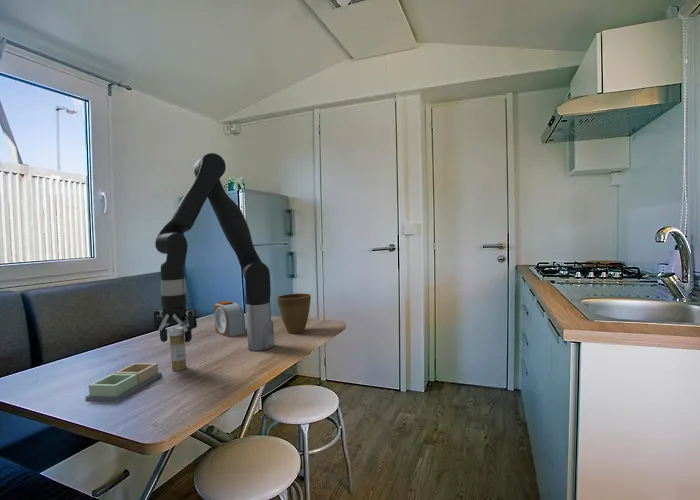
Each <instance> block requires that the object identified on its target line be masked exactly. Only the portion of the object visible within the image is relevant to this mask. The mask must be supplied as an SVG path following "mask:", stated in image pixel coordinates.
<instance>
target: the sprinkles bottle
mask: <svg viewBox="0 0 700 500" xmlns="http://www.w3.org/2000/svg"><path fill="white" fill-rule="evenodd" d="M184 331H185V330H184V329H183V327H182V326H180V327H174V328H171V329H169V330H168V336H169V342H170V344H169V345H170V360H171V370H172V371H182V370H184V369H186V368H187V359H186V357H187V356H186V346H185V345H186V344H185V343H186V342H185V336H184Z"/></svg>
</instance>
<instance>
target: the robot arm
mask: <svg viewBox="0 0 700 500" xmlns="http://www.w3.org/2000/svg"><path fill="white" fill-rule="evenodd" d="M226 167H227V165H226V162H225V159H224V158H223V156H221V155H220V154H218V153H216V152H215V153H214V152H210V153H206V154H204V155H202V157H200V158H199V159H198V160H197V161H196V162H195V163H194V165H193V173H194V176H195V179H194V182H193V183H192V185H191V186H190V188H189V189H188V191H186V193H185V195H184V196H183V197H182V199H181V200H180V202H179V203H178V204H177V207H176V208H175V210H174V212H173V215H172V216H171V218H170V220H169V221H168V222H166V223H165V225H164V226H163V228H162V229H161V230H160V231H159V232H158V234H157V236H156V238H155V243H154V244H155V245H154V247H155V249H156V251H157V252H159V253H160V254H163V255H166V260H165V261H164V262H163V263H161V265H160V299H161V301H160V303H161V305H160V306H161V308H162V309H158V310H155V311H153V329H155V330H158V331H159V339H160V341H161V343H165V342H167V341H168V340H169V339H168V329H167V328H168V326H169V325H172V324H175V325H179V326H180V327H182V328H183V329H184V343H189V342H191V340H192V338H193V337H192V335H193V334H192V330H193V329H196V328H198V323H197V321H198V320H197V313H196V310H195V309H191V310H187V302H188V301H187V286H186V279H185V264H186V258H187V253H188V241H187V238H186V236H185V235H184V234H185V233H186V232H188V231H190V230H192V228H193V226H194V224H195V222H196V221H197V218H198V216H199V214H200V212H201V211H202V209H203V206H204V204H205V202H206V200H207V199H208V201H209V204H210V206H211V208H212V210H213V212H214V214H215V217H216V219H217V221H218V223H219V226H220V228H221V231H222V232H223V234H224V236H225V238H226V240H227V241H228V242H227V243H228V244H229V245H230V247H231V249H232V250H233V252H234V253H235V255H236V258H237V259H238V260H237V261H238V264H239V265H240V269H241V272H242V275H243V279H244V282H245V284H244V285H245V287H244V289H245V297H244V298H245V299H244V301H245V315H246V317H245V322H246V335H247V349H248V350H249V351H253V352H254V351H264V350H270V349H272V348H273V347H274V346H275V329H274V321H273V320H272V312H271V293H272V292H271V272H270V269H269V266H267V264H265V263H264V262H263V261H262V260H261V258H260V256H259V254H258V253H257V250H256V249H255V246H254V244H253V240H252V235H251V234H252V233H251V232H250V228H249V225H248V222H247V219H246V217H245V216H244V214H243V211H242V209H241V207H239V206H238V204H236V202H235V201H234V200H233V199H232V198H231V197H230V195H228V194H227V192H226V191H225V188H224V187H223V183H222V182H221V178H222V177H223V176H224V174H225V173H226ZM162 317H163V319H162Z"/></svg>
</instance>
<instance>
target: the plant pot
mask: <svg viewBox="0 0 700 500" xmlns="http://www.w3.org/2000/svg"><path fill="white" fill-rule="evenodd" d="M311 297H312V294H310V293H300V292H299V293H289V294H283V295H278V296H277V297H276V300H277V305H278V309H279V310H278V311H279V313H280V316H281V319H282V322H283V324H284V327H285V329H286V331H287V333H288V334H292V333H293V334H294V333H295V334H301V333H303V331H304V332H305V330H306V326H307V323H308V318H309V314H310V309H311V308H310V307H311ZM295 334H294V335H295Z"/></svg>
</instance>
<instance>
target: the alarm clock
mask: <svg viewBox="0 0 700 500" xmlns="http://www.w3.org/2000/svg"><path fill="white" fill-rule="evenodd" d="M213 310H214V326H215V330H214V331H215V333H216V334H220V335H223V336H225V337H227V338H230V337H231V338H232V337H235V336H238V335H243V334H247V331H246V317H245V313H244V312H245V311H244V310H243V308H242V306H241V304H239V303H237V302H234V301H227V300H223V301H218V302H217V303H214V304H213Z"/></svg>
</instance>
